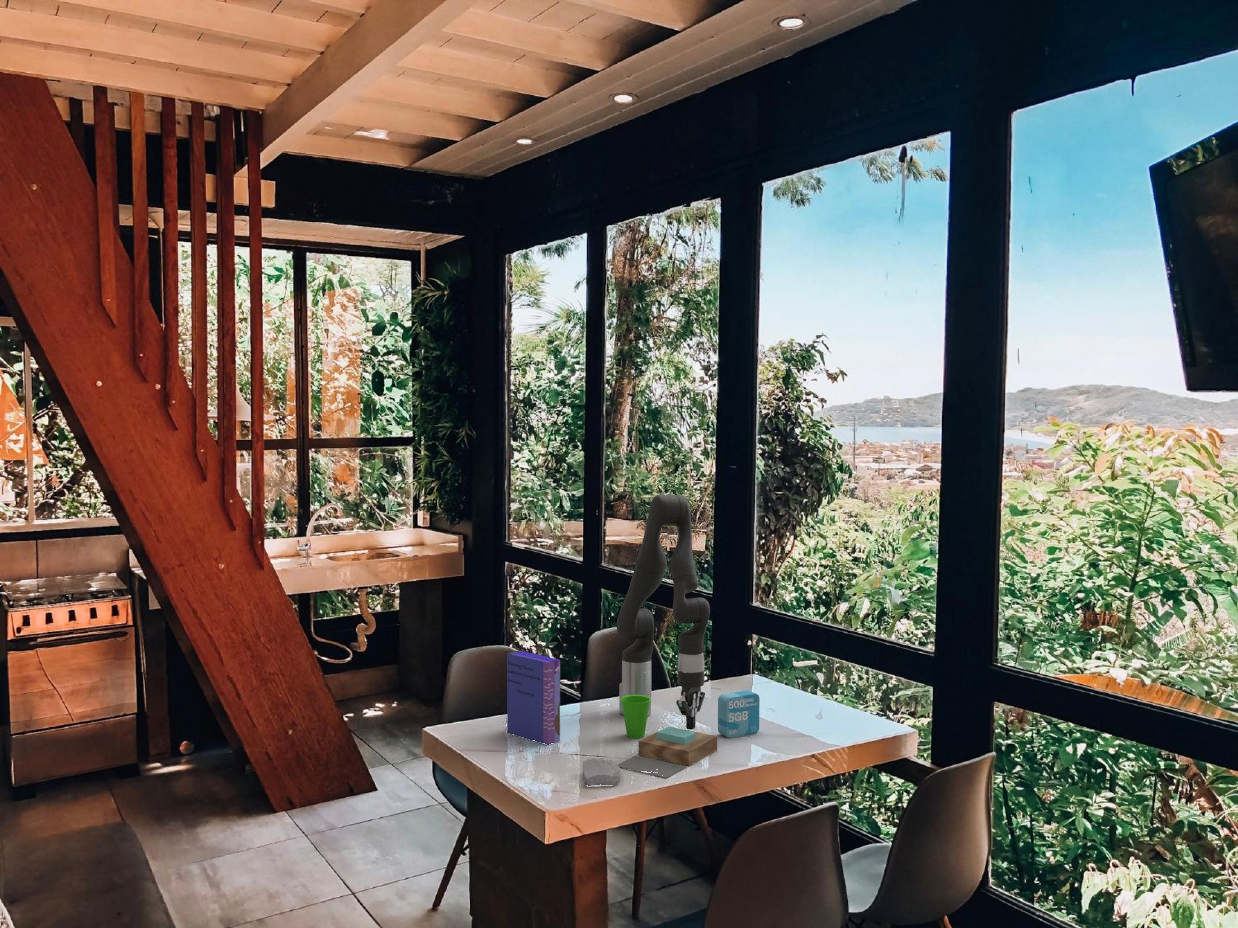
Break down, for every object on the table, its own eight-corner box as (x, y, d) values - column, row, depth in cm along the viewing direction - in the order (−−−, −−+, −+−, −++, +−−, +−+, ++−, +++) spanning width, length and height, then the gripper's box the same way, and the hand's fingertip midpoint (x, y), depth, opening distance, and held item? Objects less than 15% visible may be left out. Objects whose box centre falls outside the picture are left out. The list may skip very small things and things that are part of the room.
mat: (615, 766, 264) (615, 765, 264) (635, 756, 272) (635, 755, 272) (666, 778, 255) (666, 777, 255) (685, 767, 263) (685, 766, 263)
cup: (655, 733, 293) (655, 696, 292) (643, 742, 284) (643, 704, 284) (628, 729, 296) (628, 693, 296) (615, 737, 288) (615, 700, 288)
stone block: (616, 777, 261) (579, 771, 260) (620, 760, 260) (583, 753, 259) (620, 796, 249) (581, 789, 248) (624, 777, 249) (585, 771, 248)
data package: (726, 738, 288) (726, 697, 288) (717, 734, 292) (717, 694, 291) (759, 732, 294) (759, 692, 293) (750, 728, 298) (750, 689, 297)
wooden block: (638, 754, 273) (638, 740, 273) (668, 739, 286) (668, 726, 286) (688, 766, 264) (688, 751, 264) (717, 750, 278) (717, 735, 277)
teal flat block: (656, 739, 274) (656, 731, 274) (668, 733, 279) (668, 726, 279) (685, 744, 269) (685, 737, 269) (695, 739, 274) (695, 732, 274)
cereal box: (559, 741, 285) (560, 658, 284) (547, 745, 281) (547, 661, 280) (519, 729, 296) (519, 649, 296) (507, 732, 293) (507, 652, 292)
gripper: (691, 661, 288) (690, 720, 288) (667, 670, 277) (667, 732, 277) (713, 665, 284) (713, 725, 284) (691, 674, 273) (690, 736, 273)
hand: (690, 728), depth 281 cm, fingers closed
